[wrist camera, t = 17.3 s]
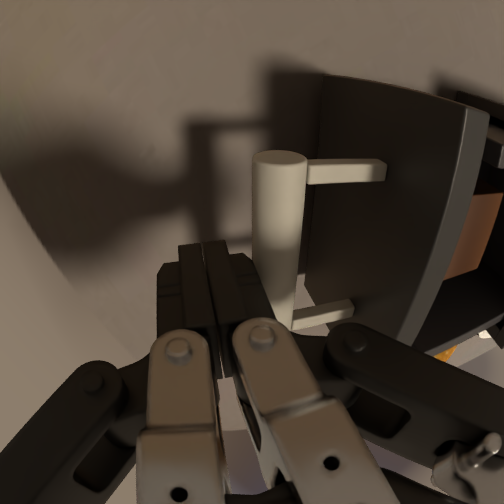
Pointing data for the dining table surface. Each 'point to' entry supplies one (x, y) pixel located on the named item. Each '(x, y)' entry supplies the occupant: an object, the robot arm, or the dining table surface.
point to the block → (475, 229)
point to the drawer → (383, 216)
